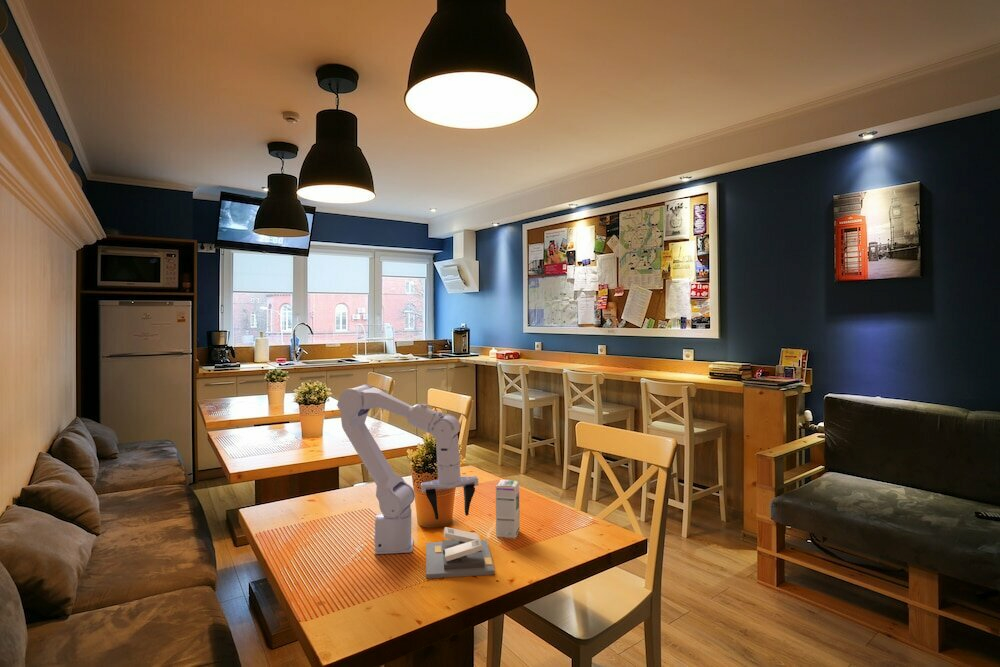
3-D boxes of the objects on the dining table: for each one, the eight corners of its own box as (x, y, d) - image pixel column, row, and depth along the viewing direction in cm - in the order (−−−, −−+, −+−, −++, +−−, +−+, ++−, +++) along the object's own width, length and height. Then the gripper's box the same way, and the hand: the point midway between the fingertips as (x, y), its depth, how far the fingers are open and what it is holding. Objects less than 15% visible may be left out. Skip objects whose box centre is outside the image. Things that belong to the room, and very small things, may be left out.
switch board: (426, 578, 122) (426, 564, 121) (426, 546, 138) (426, 534, 138) (494, 574, 124) (494, 561, 124) (486, 543, 141) (486, 531, 140)
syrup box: (516, 539, 144) (516, 486, 143) (495, 537, 145) (495, 484, 144) (519, 530, 149) (520, 480, 149) (499, 528, 150) (499, 478, 150)
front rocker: (446, 561, 125) (445, 556, 125) (446, 553, 129) (444, 549, 128) (483, 549, 126) (481, 544, 126) (481, 542, 130) (480, 537, 130)
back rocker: (444, 537, 132) (445, 532, 132) (443, 531, 136) (445, 526, 136) (478, 545, 134) (479, 540, 134) (477, 538, 138) (478, 533, 138)
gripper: (420, 470, 129) (424, 525, 129) (478, 464, 132) (482, 517, 132) (419, 463, 136) (422, 515, 136) (474, 457, 139) (477, 508, 139)
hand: (451, 516), depth 135 cm, fingers open, 7 cm apart
